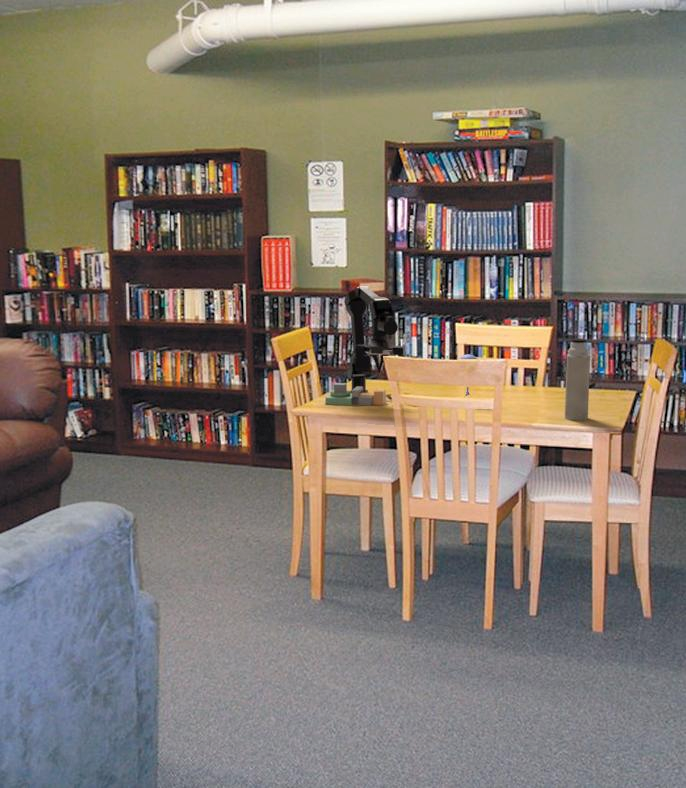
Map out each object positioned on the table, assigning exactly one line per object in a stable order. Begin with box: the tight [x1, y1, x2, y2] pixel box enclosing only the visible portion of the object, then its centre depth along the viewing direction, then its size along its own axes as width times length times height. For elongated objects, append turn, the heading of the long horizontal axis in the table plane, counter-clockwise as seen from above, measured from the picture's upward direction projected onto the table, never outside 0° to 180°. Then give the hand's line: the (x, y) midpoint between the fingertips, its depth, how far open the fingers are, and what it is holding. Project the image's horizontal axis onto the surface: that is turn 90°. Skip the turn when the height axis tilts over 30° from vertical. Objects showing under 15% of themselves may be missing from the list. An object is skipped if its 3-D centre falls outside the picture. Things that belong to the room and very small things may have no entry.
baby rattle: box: [459, 354, 478, 397], centre depth 409 cm, size 9×9×18 cm
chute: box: [359, 388, 387, 406], centre depth 406 cm, size 6×12×5 cm, turn 77°
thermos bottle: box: [564, 338, 591, 421], centre depth 374 cm, size 8×8×28 cm
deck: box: [325, 382, 373, 406], centre depth 408 cm, size 11×18×7 cm, turn 77°
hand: (379, 372), depth 408 cm, fingers closed
